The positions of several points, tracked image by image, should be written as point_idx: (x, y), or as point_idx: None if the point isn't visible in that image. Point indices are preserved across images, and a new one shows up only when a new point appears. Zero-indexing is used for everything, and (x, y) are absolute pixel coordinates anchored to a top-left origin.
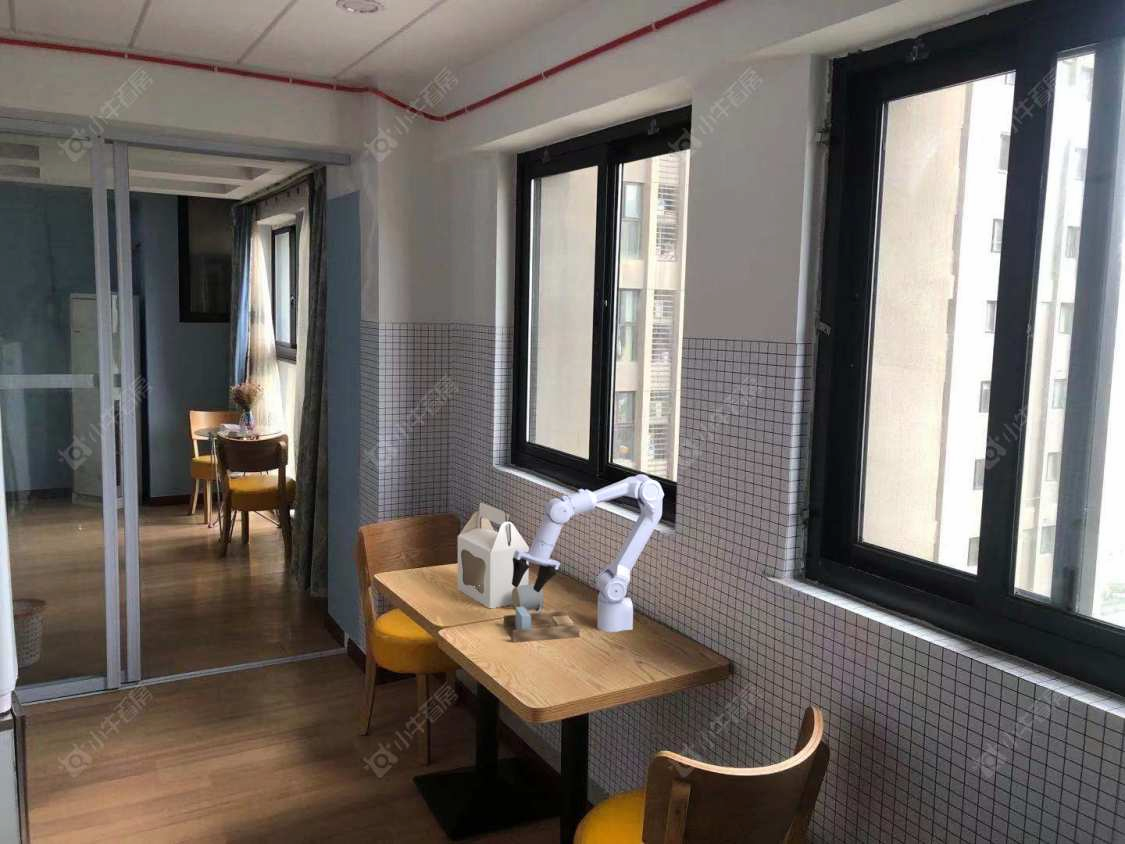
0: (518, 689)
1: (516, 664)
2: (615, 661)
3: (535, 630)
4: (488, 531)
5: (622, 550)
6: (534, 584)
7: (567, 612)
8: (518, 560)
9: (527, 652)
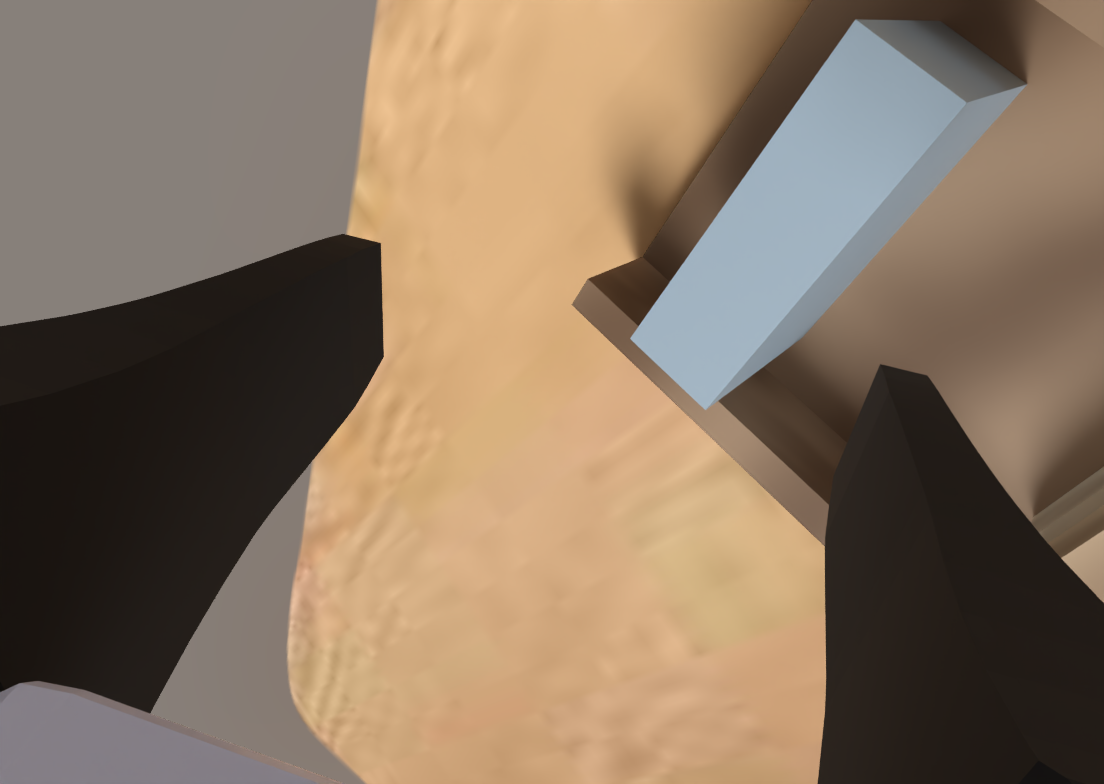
0: (321, 597)
1: (455, 468)
2: None
3: (727, 447)
4: None
5: None
6: (894, 401)
7: None
8: None
9: (613, 436)
